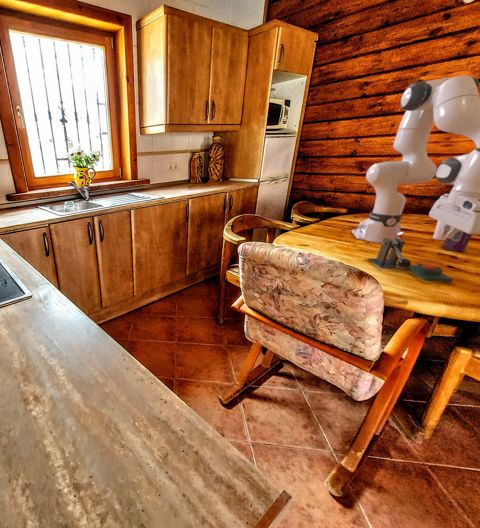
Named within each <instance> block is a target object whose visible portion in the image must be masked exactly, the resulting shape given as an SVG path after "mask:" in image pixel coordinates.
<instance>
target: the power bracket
mask: <svg viewBox="0 0 480 528" xmlns="http://www.w3.org/2000/svg"><path fill="white" fill-rule="evenodd" d="M399 238H400V237H399ZM399 238H395V239H396V240H397V242H398V246H397V247H398V249H399V251H400V252H401V253H402V251H403V248H404V246H405V240H403V239H401V238H400V239H399ZM392 242H393V241H391V240H389V239H388V238H384V239H383V242H382V243H380V244H381V245H380V248H379V250H378V254H377V256H376V258H374V257H373V258H369V257H368V260H369V261H370V262H372V263H373V264H374V265H376V266H377V267H378V268H380V269H388V270H389V269H391V270H405V268H401V267H399V266H398V261H399V259H398V257H397V255H396V253H395V252H394V250H393V248H390V247H391V245H392Z"/></svg>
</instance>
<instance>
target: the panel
mask: <svg viewBox="0 0 480 528" xmlns="http://www.w3.org/2000/svg"><path fill="white" fill-rule="evenodd" d="M422 265H423V263H417V264H411V265H410V266H409V267H407V268H405V270H407V271H408V272H410V273H412V274H413V275H415V276H416V277H418V279H419V278H420V279H421V280H422V281H424V282H438V283H452V281H453V279H454V278H452V277H450V276H448V275H446V274H445V273H443V268H442V267H440V266H438V267H437V270H431V269H426V268H423V267H422Z"/></svg>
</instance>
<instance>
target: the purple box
mask: <svg viewBox="0 0 480 528" xmlns="http://www.w3.org/2000/svg"><path fill="white" fill-rule="evenodd" d="M450 230H451V229H450ZM472 236H473V234H468V233H465V232H463V231H461V230H460V231H459V232H457V233H456V234H454V236H453V238H451V239H450V238H446V239H445V241H443V244H442V248H443V249H445V250H447V251H451V252H462V251H463V252H464V251H465V250H466V248H467V247H468V244H469V242H470V240H471V238H472Z"/></svg>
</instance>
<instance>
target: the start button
mask: <svg viewBox="0 0 480 528" xmlns="http://www.w3.org/2000/svg"><path fill="white" fill-rule="evenodd" d="M422 264H423V265H422V267H423V268H426V269H431V270H437V267H439V264H437V263H435V262H432V261H431V262H430V261H424V262H423V263H422Z"/></svg>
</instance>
